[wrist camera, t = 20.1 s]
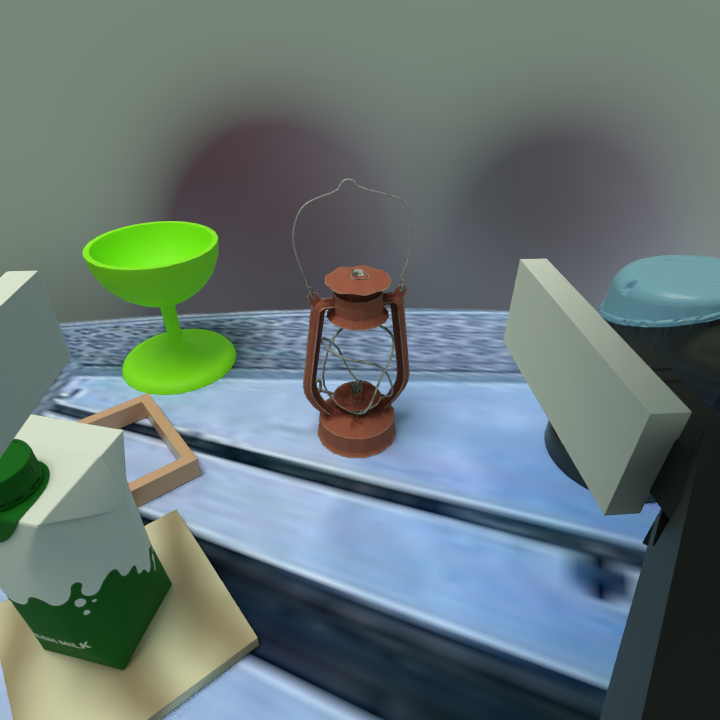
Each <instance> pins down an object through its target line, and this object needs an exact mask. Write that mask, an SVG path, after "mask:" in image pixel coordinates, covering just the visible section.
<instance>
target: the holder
mask: <svg viewBox="0 0 720 720" xmlns="http://www.w3.org/2000/svg"><path fill="white" fill-rule="evenodd" d="M146 417H147V418H148V420H149V421H150V423H151V424H152V425H153V427H154V428H155V430H156V431H157V433H158V434H159V435H160V437H161V438H162V440H163V441H164V443H165V444H166V445H167V447H168V448H169V450H170V451H171V452H172V454H173V455H174V457H175V458H176V461H174V462H172V463H170V464H168V465H166V466H164V467H162V468H160V469H157V470H155V471H153V472H151V473H149V474H147V475H145V476H143V477H141V478H139V479H137V480H135V481H132V482H130V483H128V485H129V488H130V490H131V493H132V495H133V498H134V501H135V503H136V506H137V508H138V507H139V506H141V505H143V504H145V503H147V502H149V501H151V500H153V499H155V498H157V497H159V496H161V495H163V494H165V493H167V492H169V491H171V490H173V489H175V488H177V487H179V486H181V485H183V484H185V483H187V482H188V481H190V480H192V479H194V478H196V477H198V476H200V475H201V471H200V467H199V463H198V460H197V458H196V456H195V455H194V454H193V452H192V451H191V450H190V448H189V447H188V446H187V444H186V443H185V442H184V440H183V439H182V438H181V436H180V435H179V434H178V432H177V431H176V430H175V428H174V427H173V426H172V424H171V423H170V422H169V421H168V419H167V418H166V417H165V415H164V414H163V413H162V411H161V410H160V409H159V407H158V406H157V405H156V403H155V402H154V401H153V399H152V398H151V397H150V395H149V394H145V395H142V396H140V397H137V398H135V399H132V400H130V401H127V402H125V403H122V404H120V405H117V406H115V407H112V408H110V409H107V410H104V411H102V412H99V413H97V414H94V415H92V416H89V417H87V418H84V419H82V420H79V421H77V422H78V423H84V424H90V425H96V426H102V427H107V428H113V429H120V428H122V427H125V426H127V425H129V424H132V423H134V422H137V421H139V420H141V419H144V418H146Z"/></svg>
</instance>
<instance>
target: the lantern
mask: <svg viewBox="0 0 720 720" xmlns="http://www.w3.org/2000/svg"><path fill="white" fill-rule="evenodd" d="M347 180H350V181H353V182H354V184H355V185H356V186H357V187H359V188H361V189H364V190H368V191H371V192H375V193H379V194H383V195H388V196H391V197H394V198H397V199H399V200H401V201H403V202H404V203H405V204H406V205H407V207H408V209H409V213H410V246H409V254H408V259H407V262H406V265H405V267H404V269H403V271H402V275H400V277H401V280H400V281H401V282H400V285H399V286H398V287H397V288H396V289H395V291H394V292H389V293H383V290H386V289H387V288H388V287H389V285H390V283H391V279H390V277H389V275H388V274H387V273H386V272H385V271H382V270H375V269H373V268H371V267H369V266H365V265H361V266H355V267H340V268H337V269H335V270H334V271H333V272H332V273H330V274H328V275H326V277H325V284H326V285H327V286H329V287H330V288H331V289H332V290H333V297H330V298H320V296H319V295H318V294H317V293H316V292H313V290H312V289H311V287H309V284H308V281H307V279H306V277H305V274H304V272H303V269H302V267H301V265H300V262H299V260H298V256H297V253H296V250H295V245H294V231H295V225H296V221H297V219H298V216H299V213H300V212H301V210H302V208H304V207H305V206H306V205H307V204H308V203H310V202H312V201H313V200H316V199H318V198H320V197H323V196H326V195H329V194H332V193H334V192H336V191H338V190H339V189H340V187H341V185H342V183H343V182H344V181H347ZM293 247H294V252H295V254H296V258H297V261H298V263H299V266H300V268H301V271H302V273H303V276H304V278H305V281H306V286H307V287H308V288H309V294H308V296H307V298H308V301H309V302H310V304H311V305H312V306H311V313H310V322H309V332H308V341H307V351H306V360H305V370H304V379H303V389H304V394H305V396H306V398H307V399H308V401H309V402H310V403H311V404H312V405H313V407H315V408H316V409H317V410H318V411H320V417H319V420H320V424H319V428H318V437H319V439H320V441H321V443H322V445H323V446H325V447H326V448H327V449H329V450H330V451H331V452H332V453H334V454H337V455H341V456H344V457H347V458H366V457H370V456H373V455H376V454H380V453H381V452H382V451H384V450H385V449H387V448H388V447H389V446H391V444H392V442H393V440H394V438H395V436H396V431H395V424H394V408H393V407H392V406H391V404H392V403H393V402H394V401H395V400H396V399H397V398H398V396H399V395H400V394H401V392H402V391H403V390H404V388H405V387H406V385H407V382H408V379H409V360H408V347H407V335H406V322H405V309H404V299H403V297H404V295H405V294H406V291H407V287H406V286H405V285H403V280H404V277H403V272H404V270H405V268H406V266H407V263H408V260H409V257H410V250H411V212H410V208H409V206H408V204H407V203H406V202H405V201H404V200H402V199H401V198H399V197H396V196H393V195H390V194H386V193H381V192H377V191H374V190H370V189H366V188H363V187H360V186H358V185H357V184H356V183H355V181H354V180H352V179H345V180H343V181H342V182H341V183H340V185H339V187H338V189H336V190H335V191H333V192H331V193H328V194H325V195H322V196H319V197H317V198H315V199H312V200H310V201H309V202H307V203H305V204H304V205H303V206H302V207H301V209H300V210H299V212H298V214H297V217H296V219H295V223H294V227H293ZM401 283H402V285H401ZM400 288H401V289H403V288H404V290H403V291H399V290H400ZM310 289H311V291H312V292H310ZM314 296H315V298H314V299H311V298H310V297H312V298H313V297H314ZM386 304H390V305H391V313H392V323H393V332H394V337H393V334H392V333H391V332H390V331H389V330H388V328H386V327H384V326H382V324H384V323H385V322H386V320H387V319H388V318H389V315H388V311H387V309H386V308H385V307H384V306H383V305H386ZM325 310H328V311H327V318H328V319H329V321H330V322H331V323H332V324H334V325H336V326H338V327H340V329H339V331H338V332H337V333H336V334H335V335H334V337H333V338H332V340H329V339H327V338H321V337H322V329H323V322H324V314H325ZM378 326H379V327H381V328H383V329H385V330H387V331H388V333H389V334H390V335H391V337H392V341H393V347H392V353H391V356H390V358H389V361H388V363H387V365H386V367H385V369H384V367H382V366H380V365H378V364H376V363H372V362H368V361H361V360H355V359H350V358H346V357H344V356H343V355H342V353H341V351H340V349H339V348H338V346H337V345H336V344H335V343H334V342H333V341H334V339H335V337H336V336H337V335H338V334H339V332H340V331H341V330H343V329H349V330H367V329H372V328H376V327H378ZM323 340H326V341H328V342H330V345H329V347H327V346H326V345H325V344H324V343H323ZM321 343H322V345H323V346H324V347H325V348H326V349H327V353H326V356H325V360H324V364H323V372H322V379H323V386H324V388H325V390H323V389H322V381H321V380H320V379H317V380H316V374H317V367H318V359H319V352H320V344H321ZM332 344H333V345H334V346H335V347H336V348H337V349H338V351H339V353H340V355H339V354H337V353H335V352H334V351H332V350H331V349H330V347H331V345H332ZM394 346H395V352H396V361H397V377H396V381H395V383H394V385H393V384H392V381H391V379H390V376H389V374H388V373H387V371H386V370H387V368H388V366H389V364H390V361H391V359H392V356H393V353H394ZM329 351H330V352H331V353H333V354H334V355H336V356H338V357H340V358H342V359H343V361H344V363H345V365H346V367H347V369H348V371H349V372H350V374H351V375H352V376H353V377H354V379H355V380H356V381H352V382H348V383H344V384H342V385H341V386H339V387H337V389H336V390H335V392H334V393H333V392H330V391H328V390H327V388H326V386H325V381H324V371H325V364H326V360H327V356H328V352H329ZM345 360H347V361H352V362H356V363H364V364H370V365H375V366H377V367H379V368H381V369H383V373H382V375H381V377H380V379H379V382H378V384H377V387H375V386H373V385H372V384H371V383H370V382H367V381H361V380H357V378H356V377H355V376H354V375H353V373H352V372H351V371H350V369H349V367H348V365H347V363H346V361H345ZM384 373H385V374H386V375H387V376H388V379H389V382H390V384H391V389H390V391H389V392H388V394H387V395H383V394H381V393H380V391H379V390H378V387H379V384H380V382H381V380H382V378H383V376H384ZM317 382H319V388H317V385H316V383H317ZM320 392H324V393H327V394H328V395H329V396H330V398H329V399H327V400H326V401H325V400H324V399H323V398H322V397H321V395H320ZM330 394H331V395H334V396H331V395H330ZM383 397H384V398H383Z"/></svg>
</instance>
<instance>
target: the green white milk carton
mask: <svg viewBox="0 0 720 720" xmlns="http://www.w3.org/2000/svg"><path fill="white" fill-rule="evenodd" d="M171 585H172V583H171V581H170V579H169V577H168V575H167V573H166V571H165V569H164V568H163V566H162V564H161V562H160V560H159V558H158V556H157V554H156V552H155V551H154V549H153V547H152V545H151V543H150V540H149V537H148V535H147V532H146V530H145V527H144V524H143V522H142V519H141V517H140V514H139V511H138V509H137V506H136V503H135V501H134V498H133V495H132V493H131V490H130V488H129V485H128V482H127V479H126V466H125V453H124V438H123V430H119V429H113V428H107V427H102V426H96V425H90V424H84V423H78V422H72V421H66V420H61V419H55V418H49V417H43V416H37V415H30V416H29V418H28V419H27V421H26V422H25V423H24V425H23V426H22V428H21V429H20V431H19V432H18V433H17V435H16V436H15V438H14V439H13V441H12V442H11V443H10V445H9V446H8V448H7V449H6V451H5V452H4V453H3V455H2V456H1V458H0V587H1V589H2V590H3V592H4V593H5V594H6V596H7V597H8V598H9V600H10V601H11V603H12V604H13V605H14V607H15V608H16V609H17V611H18V612H19V614H20V615H21V616H22V618H23V619H24V620H25V622H26V623H27V625H28V626H29V628H30V629H31V631H32V632H33V634H34V635H35V637H36V638H37V640H38V641H39V643H40V644H41V646H42V647H43V649H44V650H48V651H52V652H55V653H59V654H63V655H67V656H71V657H75V658H78V659H82V660H86V661H90V662H94V663H98V664H101V665H105V666H109V667H113V668H117V669H120V670H124V669H125V667H126V666H127V664H128V662H129V660H130V658H131V657H132V655H133V653H134V651H135V650H136V648H137V646H138V644H139V642H140V641H141V639H142V637H143V635H144V633H145V632H146V630H147V628H148V626H149V625H150V623H151V621H152V619H153V617H154V616H155V614H156V612H157V610H158V609H159V607H160V605H161V603H162V601H163V600H164V598H165V596H166V594H167V592H168V591H169V589H170V587H171Z"/></svg>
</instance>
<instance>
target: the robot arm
mask: <svg viewBox="0 0 720 720" xmlns="http://www.w3.org/2000/svg"><path fill="white" fill-rule="evenodd" d="M599 311H600V315H599V314H598V313H597V312H596V311H595V309H594V308H593V307H592V306H591V305H590V304H589V303H588V302H587V301H586V300H585V299H584V298H583V297H582V296H581V295H580V294H579V293H578V292H577V291H576V289H575V288H574V287H573V286H572V285H571V284H570V283H569V282H568V281H567V280H566V279H565V278H564V277H563V276H562V275H561V274H560V273H559V272H558V270H557V269H556V268H555V267H554V266H553V265H552V264H551V263H550V262H549V261H548V260H547V259H521V260H520V263H519V268H518V273H517V278H516V282H515V287H514V292H513V297H512V302H511V306H510V311H509V316H508V321H507V326H506V330H505V335H504V340H503V342H504V343H505V345H506V347H507V349H508V350H509V352H510V354H511V355H512V357H513V359H514V361H515V362H516V364H517V366H518V368H519V369H520V371H521V373H522V374H523V376H524V378H525V380H526V381H527V383H528V385H529V387H530V388H531V390H532V392H533V393H534V395H535V397H536V399H537V400H538V402H539V404H540V405H541V407H542V409H543V411H544V412H545V414H546V416H547V418H548V419H549V421H548V424H547V427H546V431H545V444H546V447H547V450H548V452H549V454H550V455H551V457H552V459H553V460H554V461H555V463H556V464H557V465H558V466H559V467H560V468H561V469H562V470H563V471H564V472H565V473H566V474H567V475H568V476H570V477H571V478H572V479H574V480H575V481H577V482H578V483H580V484H581V485H583V486H585V487H587V488H589V490H590V492H591V493H592V495H593V497H594V499H595V500H596V502H597V504H598V505H599V507H600V509H601V511H602V512H603V514H604V515H618V514H635V513H640V512H641V510H642V508H643V506H644V504H645V502H655V501H656V502H657V503H658V505H659V506H660V507H661V510H660V512H659V514H658V515H657V517H656V519H655V521H654V523H653V525H652V526H651V528H650V530H649V532H648V534H647V535H646V537H645V539H644V541H643V544H645V545H647V546H648V547H647V551H646V554H645V558H644V562H643V565H642V569H641V572H640V576H639V580H638V583H637V587H636V590H635V594H634V597H633V601H632V605H631V608H630V612H629V615H628V619H627V623H626V626H625V630H624V633H623V637H622V641H621V644H620V648H619V651H618V655H617V659H616V662H615V666H614V669H613V673H612V677H611V680H610V684H609V687H608V691H607V694H606V698H605V702H604V705H603V709H602V712H601V716H600V720H720V259H717V258H712V257H704V256H694V255H664V256H656V257H649V258H644V259H641V260H638V261H635V262H632V263H630V264H628V265H627V266H625V267H623V268H622V269H621V270H620V271H619V272H618V273H617V274H616V275H615V277H614V279H613V280H612V283H611V285H610V288H609V290H608V293H607V295H606V298H605V300H604V301H603V302H602V304H601V305H600V309H599ZM70 358H71V354H70V352H69V349H68V347H67V344H66V341H65V339H64V336H63V334H62V331H61V329H60V326H59V324H58V321H57V319H56V316H55V314H54V311H53V308H52V306H51V303H50V301H49V298H48V296H47V293H46V291H45V288H44V286H43V283H42V281H41V278H40V275H39V273H38V271H10V272H7V273H5V274H4V275H3V276H2V277H1V278H0V458H1V456H2V455H3V453H4V452H5V451H6V449H7V448H8V446H9V445H10V443H11V442H12V441H13V439H14V438H15V436H16V435H17V433H18V432H19V431H20V429H21V428H22V426H23V425H24V423H25V422H26V421H27V419H28V418H29V416H30V415H31V413H32V412H33V411H34V409H35V408H36V406H37V405H38V403H39V402H40V401H41V399H42V398H43V396H44V395H45V393H46V392H47V391H48V389H49V388H50V386H51V385H52V383H53V382H54V381H55V379H56V378H57V376H58V375H59V373H60V372H61V371H62V369H63V368H64V366H65V365H66V363H67V362H68V361H69V359H70Z"/></svg>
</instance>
